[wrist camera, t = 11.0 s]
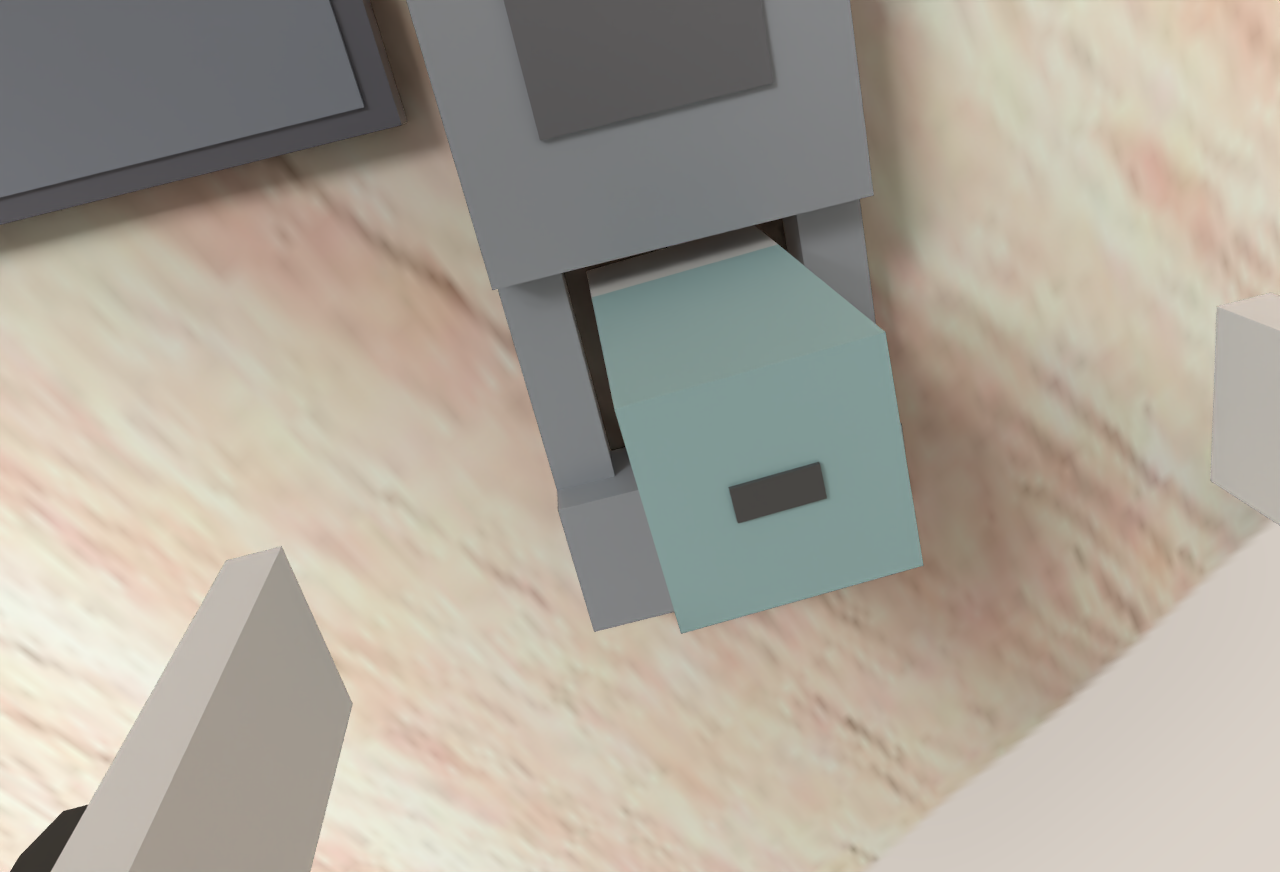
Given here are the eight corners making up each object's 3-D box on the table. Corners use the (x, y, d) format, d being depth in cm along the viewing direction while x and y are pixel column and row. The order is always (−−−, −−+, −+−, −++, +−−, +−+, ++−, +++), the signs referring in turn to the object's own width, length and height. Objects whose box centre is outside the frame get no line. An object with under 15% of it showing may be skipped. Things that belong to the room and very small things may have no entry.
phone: (-139, 257, 20) (-172, 267, 19) (-316, -52, 17) (-363, -58, 17) (407, 121, 20) (401, 125, 19) (305, -206, 17) (292, -220, 17)
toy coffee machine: (357, -218, 17) (318, -274, 14) (768, -320, 18) (817, -397, 14) (589, 577, 25) (596, 651, 22) (882, 504, 25) (930, 568, 22)
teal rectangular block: (630, 424, 23) (681, 636, 15) (586, 271, 21) (614, 411, 13) (785, 380, 23) (925, 568, 15) (753, 223, 21) (888, 333, 13)
